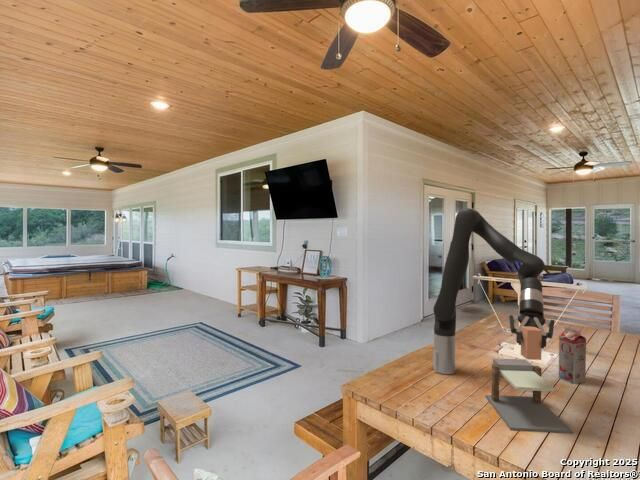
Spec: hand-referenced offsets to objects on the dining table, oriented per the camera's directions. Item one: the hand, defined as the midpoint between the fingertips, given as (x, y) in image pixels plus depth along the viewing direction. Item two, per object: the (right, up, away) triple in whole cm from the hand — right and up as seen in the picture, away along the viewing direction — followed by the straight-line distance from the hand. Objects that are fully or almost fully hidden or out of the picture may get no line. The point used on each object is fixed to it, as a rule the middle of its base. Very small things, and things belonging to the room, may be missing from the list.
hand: (531, 345), depth 116 cm
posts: (+2, -25, +12) cm, 28 cm away
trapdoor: (+1, -16, +8) cm, 18 cm away
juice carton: (+37, -25, +32) cm, 55 cm away
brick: (+1, -4, +2) cm, 5 cm away
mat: (+1, -26, +5) cm, 26 cm away
